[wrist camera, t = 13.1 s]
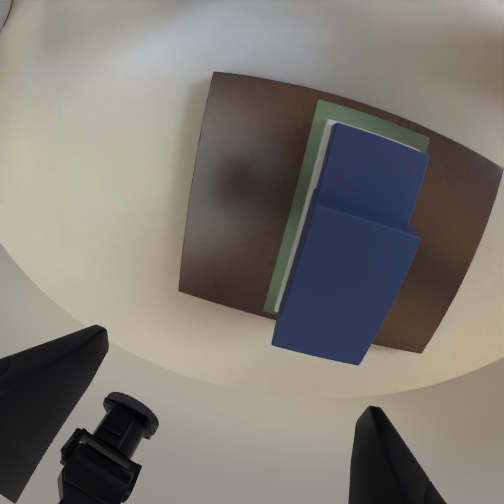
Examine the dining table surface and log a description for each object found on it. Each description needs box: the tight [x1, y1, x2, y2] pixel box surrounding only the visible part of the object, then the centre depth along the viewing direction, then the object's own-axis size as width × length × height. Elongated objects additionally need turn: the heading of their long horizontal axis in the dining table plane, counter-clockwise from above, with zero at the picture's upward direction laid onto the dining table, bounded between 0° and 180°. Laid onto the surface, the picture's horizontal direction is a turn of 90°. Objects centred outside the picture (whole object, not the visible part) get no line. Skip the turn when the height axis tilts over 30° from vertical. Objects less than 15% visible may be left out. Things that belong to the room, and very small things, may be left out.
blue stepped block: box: [271, 119, 429, 365], centre depth 13 cm, size 11×5×5 cm, turn 168°
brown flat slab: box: [178, 72, 503, 353], centre depth 16 cm, size 14×18×1 cm
